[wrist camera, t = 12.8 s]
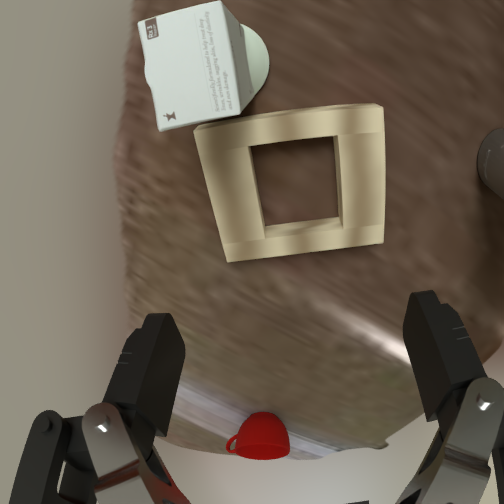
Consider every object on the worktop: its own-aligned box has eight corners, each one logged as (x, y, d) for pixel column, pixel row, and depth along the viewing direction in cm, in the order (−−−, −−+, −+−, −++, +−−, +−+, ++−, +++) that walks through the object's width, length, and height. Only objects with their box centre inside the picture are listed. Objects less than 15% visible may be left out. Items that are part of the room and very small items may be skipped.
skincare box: (255, 96, 31) (248, 121, 18) (200, 105, 31) (157, 138, 19) (243, 23, 26) (226, -3, 14) (186, 35, 27) (132, 21, 15)
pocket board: (374, 103, 31) (383, 107, 28) (376, 230, 40) (383, 242, 38) (198, 125, 33) (193, 131, 31) (229, 249, 43) (227, 262, 40)
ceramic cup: (214, 414, 72) (210, 449, 63) (274, 401, 66) (274, 440, 58) (241, 432, 78) (240, 463, 69) (297, 420, 72) (298, 454, 64)
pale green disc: (260, 14, 26) (260, 13, 25) (276, 98, 31) (276, 99, 31) (168, 34, 27) (167, 33, 27) (187, 114, 33) (186, 116, 32)
